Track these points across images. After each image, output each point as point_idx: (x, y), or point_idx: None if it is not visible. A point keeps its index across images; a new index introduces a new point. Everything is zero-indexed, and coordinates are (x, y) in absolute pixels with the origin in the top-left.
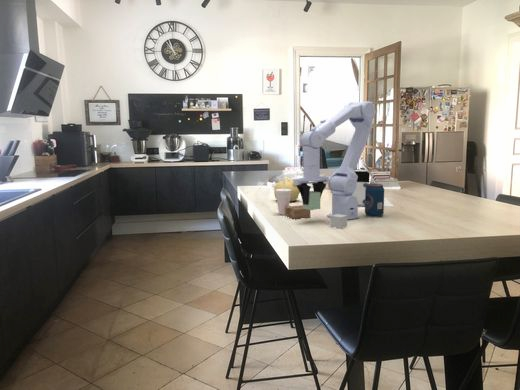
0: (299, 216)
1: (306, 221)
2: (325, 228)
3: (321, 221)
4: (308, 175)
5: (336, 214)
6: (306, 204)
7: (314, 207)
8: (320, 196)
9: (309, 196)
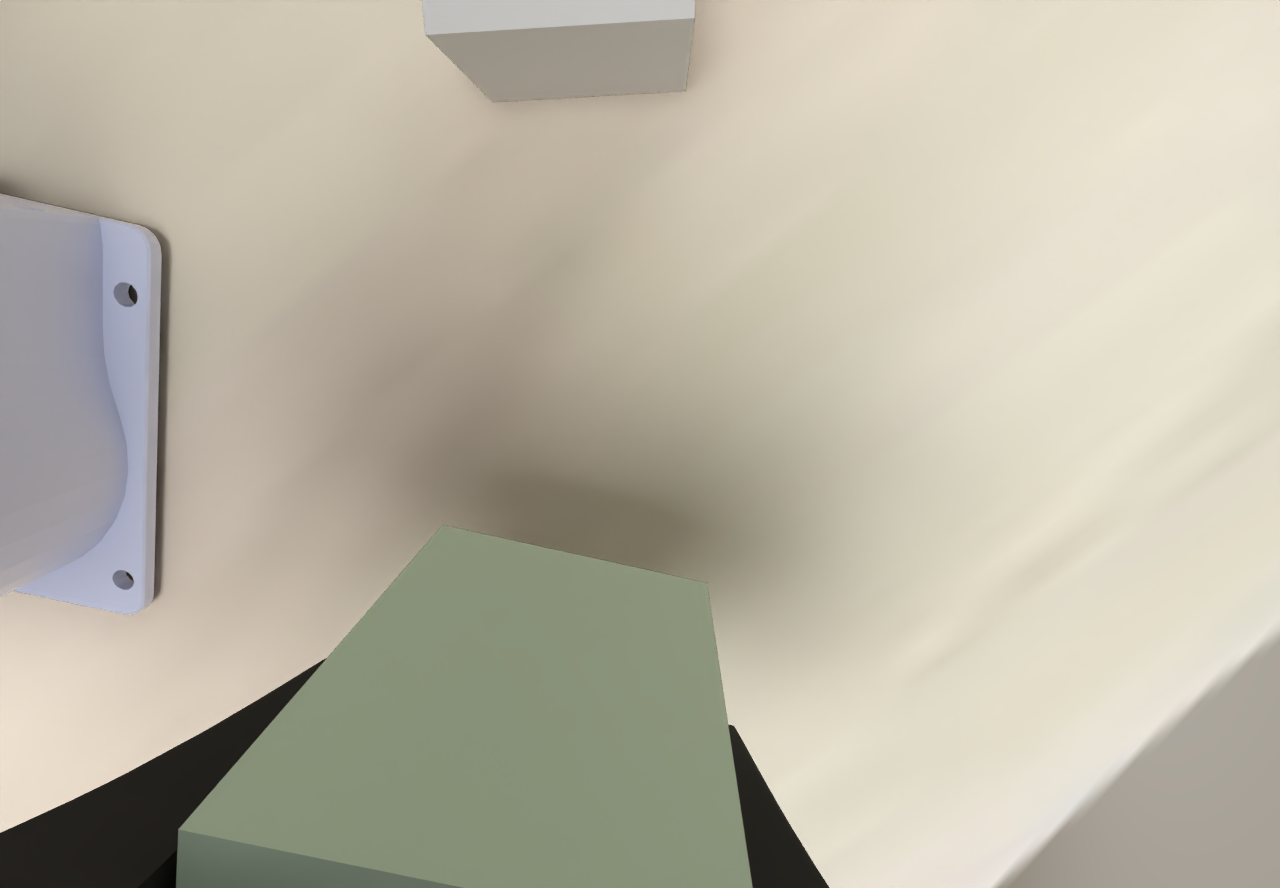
0: None
1: None
2: (831, 82)
3: (466, 456)
4: None
5: (484, 10)
6: (738, 735)
7: (594, 579)
8: (232, 736)
9: (730, 859)
